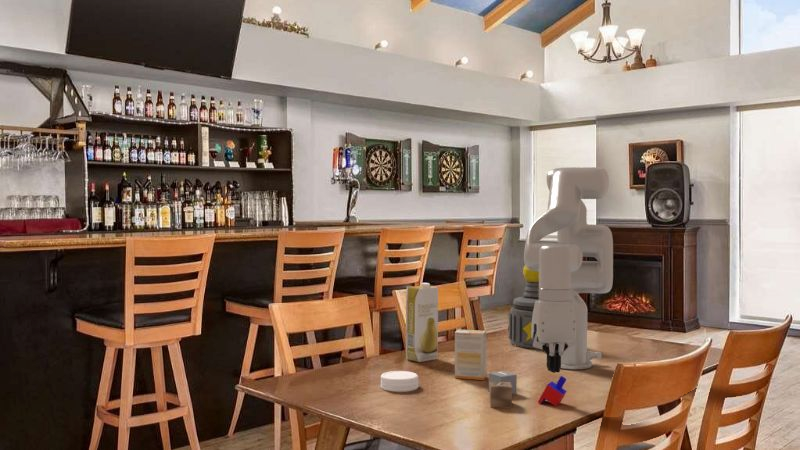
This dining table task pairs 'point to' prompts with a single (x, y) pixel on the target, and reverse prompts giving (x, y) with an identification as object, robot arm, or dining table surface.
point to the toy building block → (554, 392)
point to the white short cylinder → (399, 381)
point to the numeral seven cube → (500, 394)
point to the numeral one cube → (504, 379)
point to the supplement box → (470, 354)
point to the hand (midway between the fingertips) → (553, 371)
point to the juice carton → (422, 323)
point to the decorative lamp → (524, 312)
